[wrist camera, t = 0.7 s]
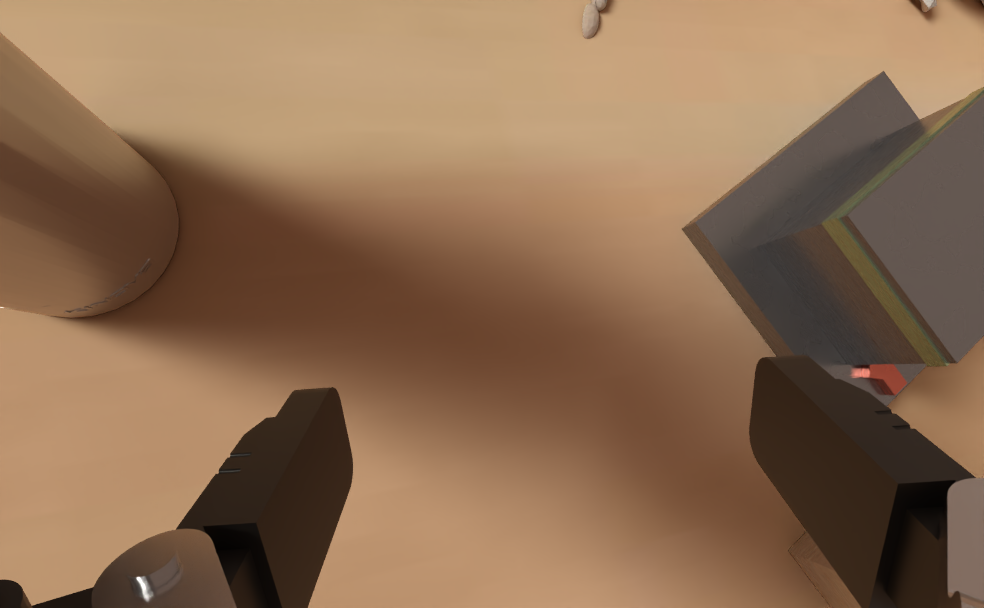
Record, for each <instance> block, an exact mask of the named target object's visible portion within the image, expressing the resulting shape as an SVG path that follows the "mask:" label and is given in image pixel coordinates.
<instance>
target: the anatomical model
mask: <svg viewBox="0 0 984 608" xmlns="http://www.w3.org/2000/svg"><path fill="white" fill-rule="evenodd" d="M919 1H920V2H921V7H922V11H923V12H927V11H928V10H930V9H932V8H933V7H935V6H937V2H936V0H919ZM981 1H982V3H983V5H984V0H981Z"/></svg>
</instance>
